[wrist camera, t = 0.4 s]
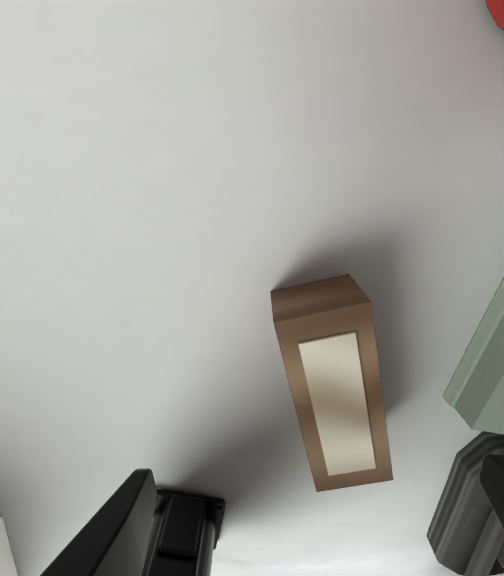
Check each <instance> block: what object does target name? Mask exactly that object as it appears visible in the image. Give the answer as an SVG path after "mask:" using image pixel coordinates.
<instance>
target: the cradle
mask: <svg viewBox="0 0 504 576" xmlns="http://www.w3.org/2000/svg"><path fill="white" fill-rule="evenodd" d="M443 397H444V399H445V400H446V401H447V402H448V404H449V405H450V406H452V407H454V408H455V409H456V410H457V411H458V413H459V414H460V415H461V417H462V418H463V419H464V420H465V422H466V423H467V424H468V425H469V427H470V428H471V429H474V430H480V431H486V432H492V433H498V434H504V279H503V280H502V282H501V284H500V286H499V288H498V290H497V292H496V294H495V296H494V298H493V300H492V302H491V304H490V306H489V308H488V310H487V312H486V313H485V315H484V317H483V319H482V321H481V323H480V325H479V327H478V329H477V331H476V333H475V335H474V337H473V339H472V341H471V343H470V345H469V347H468V348H467V350H466V352H465V354H464V356H463V358H462V360H461V362H460V364H459V366H458V368H457V370H456V372H455V374H454V376H453V378H452V380H451V382H450V383H449V385H448V387H447V389H446V391H445V393H444V395H443Z"/></svg>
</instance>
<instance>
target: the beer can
mask: <svg viewBox="0 0 504 576" xmlns="http://www.w3.org/2000/svg"><path fill="white" fill-rule="evenodd" d="M486 3H487V7H488V9H489V11H490V13H491V15H492V17H493V18H494V20H495V22H496V24H497V26H498V27H499V28H501V29H502V30H503V31H504V0H486Z"/></svg>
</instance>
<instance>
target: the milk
mask: <svg viewBox="0 0 504 576" xmlns="http://www.w3.org/2000/svg"><path fill="white" fill-rule="evenodd" d="M0 576H18V574H17V570H16V566H15V562H14V559H13V555H12V551H11V547H10V544H9V540H8V536H7V532H6V529H5V525H4V521H3V517H0Z"/></svg>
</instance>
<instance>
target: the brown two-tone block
mask: <svg viewBox="0 0 504 576" xmlns="http://www.w3.org/2000/svg"><path fill="white" fill-rule="evenodd" d="M270 292H271V302H272V312H273V322H274V326H275V330H276V334H277V338H278V342H279V346H280V350H281V354H282V358H283V362H284V365H285V369H286V373H287V377H288V381H289V385H290V389H291V393H292V397H293V401H294V405H295V409H296V413H297V417H298V420H299V424H300V428H301V432H302V436H303V440H304V444H305V448H306V452H307V456H308V460H309V464H310V468H311V472H312V475H313V479H314V483H315V487H316V491H317V492H319V491H326V490H332V489H338V488H345V487H351V486H358V485H364V484H370V483H377V482H383V481H390V480H393V474H392V466H391V458H390V450H389V442H388V435H387V427H386V419H385V411H384V403H383V395H382V387H381V379H380V371H379V363H378V355H377V347H376V339H375V331H374V323H373V316H372V308H371V302H370V300H369V299H368V298H367V297H366V295H365V294H364V293H363V292H362V290H361V289H360V288H359V287H358V285H357V284H356V283H355V282H354V280H353V279H352V278H351V277H350V275H349V274H346V275H342V276H337V277H333V278H328V279H324V280H319V281H315V282H310V283H306V284H302V285H297V286H293V287H288V288H284V289H279V290H275V291H270Z"/></svg>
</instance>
